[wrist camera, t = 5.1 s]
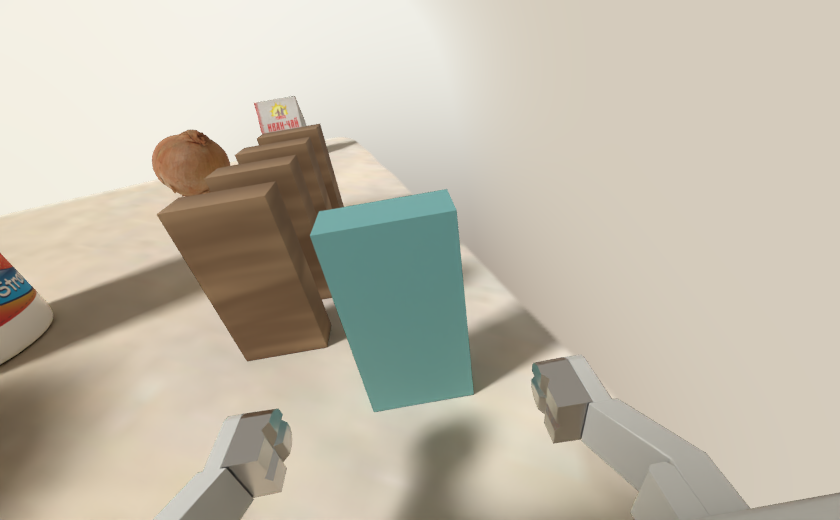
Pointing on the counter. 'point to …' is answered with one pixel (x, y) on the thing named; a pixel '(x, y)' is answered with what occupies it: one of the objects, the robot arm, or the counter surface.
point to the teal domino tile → (399, 296)
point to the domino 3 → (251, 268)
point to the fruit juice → (19, 312)
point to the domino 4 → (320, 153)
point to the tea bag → (279, 114)
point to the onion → (187, 162)
